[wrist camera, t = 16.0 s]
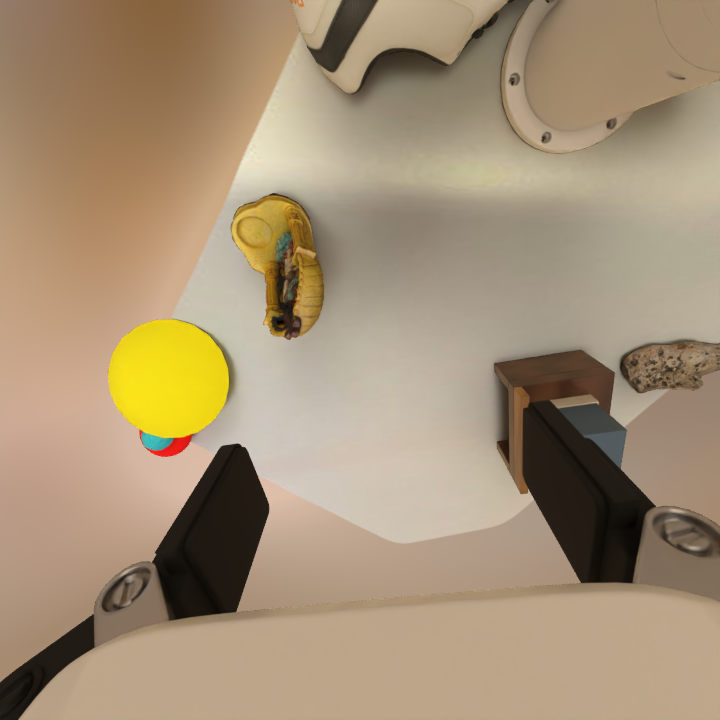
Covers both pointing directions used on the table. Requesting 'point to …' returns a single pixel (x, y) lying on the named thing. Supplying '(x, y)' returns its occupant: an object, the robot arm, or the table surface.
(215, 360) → the toy
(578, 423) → the blue block
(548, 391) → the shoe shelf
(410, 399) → the table surface
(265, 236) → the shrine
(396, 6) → the running shoe
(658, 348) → the stone
